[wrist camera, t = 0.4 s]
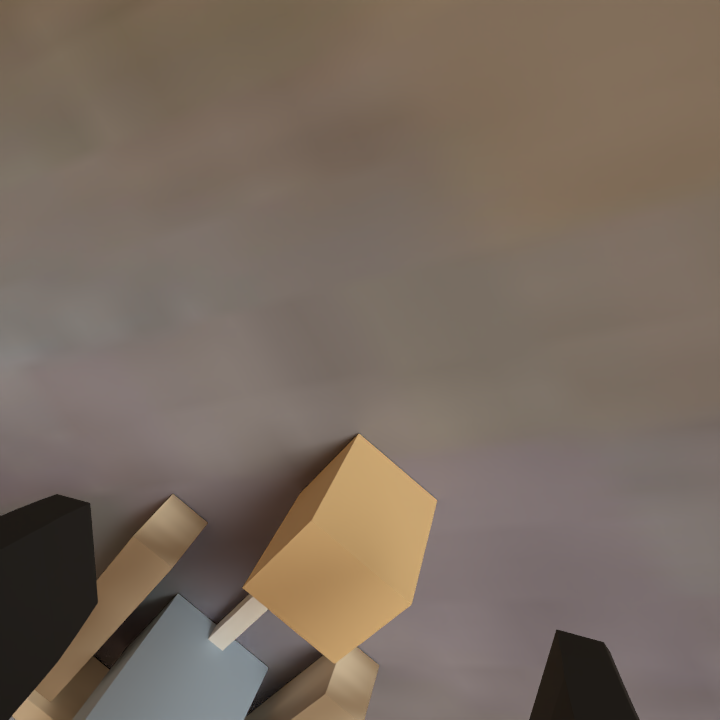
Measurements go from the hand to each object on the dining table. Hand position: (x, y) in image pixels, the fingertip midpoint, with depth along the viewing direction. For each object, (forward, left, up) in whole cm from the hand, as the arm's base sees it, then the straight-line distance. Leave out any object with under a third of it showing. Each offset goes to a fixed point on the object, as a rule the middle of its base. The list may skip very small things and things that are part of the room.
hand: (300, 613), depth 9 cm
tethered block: (-2, +10, -9) cm, 14 cm away
